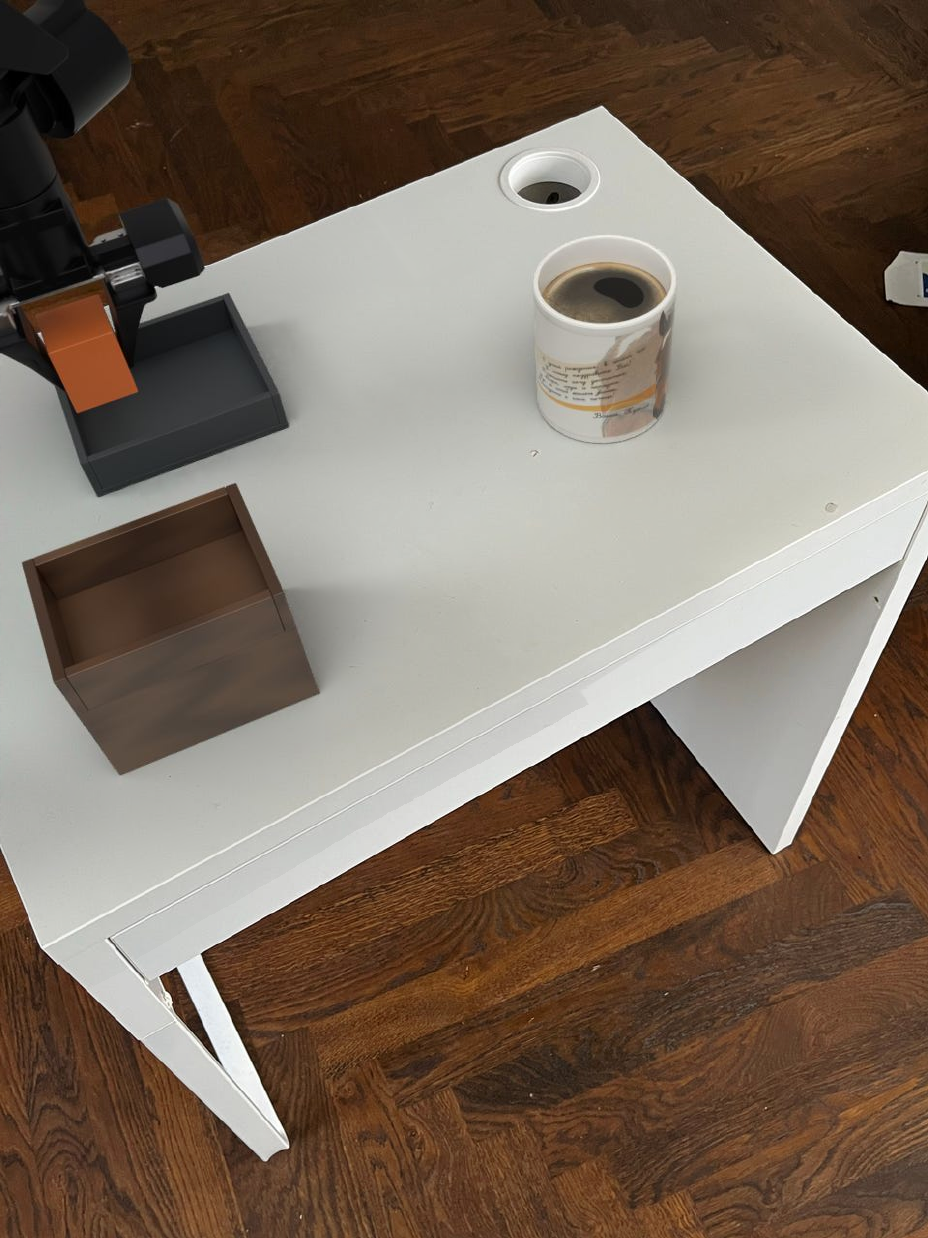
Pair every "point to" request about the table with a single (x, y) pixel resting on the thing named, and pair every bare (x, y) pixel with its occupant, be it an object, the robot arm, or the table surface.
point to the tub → (179, 399)
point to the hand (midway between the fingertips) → (97, 375)
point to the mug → (603, 336)
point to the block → (86, 353)
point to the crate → (169, 629)
